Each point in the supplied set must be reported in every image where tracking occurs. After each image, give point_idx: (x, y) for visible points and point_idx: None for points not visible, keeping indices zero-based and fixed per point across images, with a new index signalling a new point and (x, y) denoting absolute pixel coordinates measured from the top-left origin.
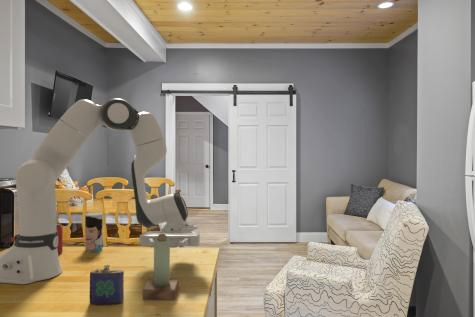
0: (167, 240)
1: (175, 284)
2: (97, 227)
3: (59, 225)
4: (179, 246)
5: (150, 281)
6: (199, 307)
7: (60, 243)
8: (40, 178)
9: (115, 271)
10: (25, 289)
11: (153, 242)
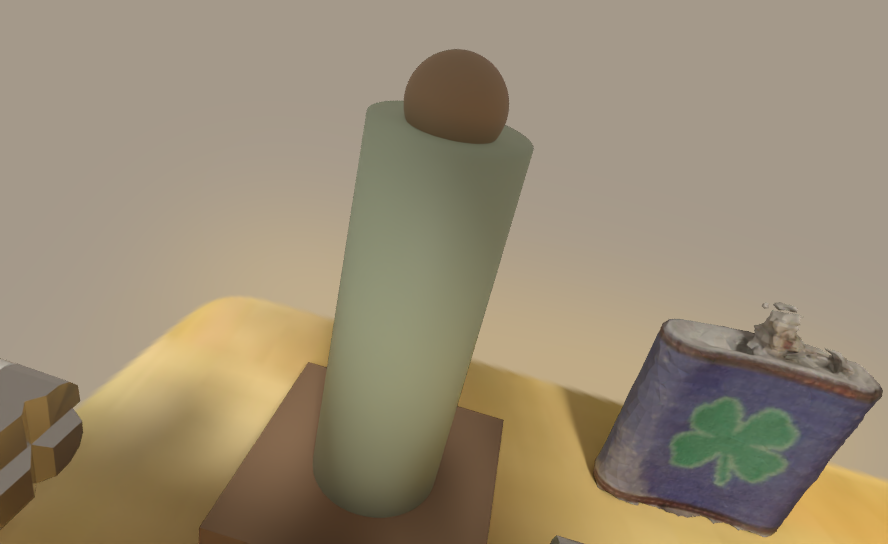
0: (394, 112)
1: (276, 420)
2: None
3: None
4: (77, 436)
5: (461, 529)
6: (206, 316)
7: None
8: None
9: (717, 347)
10: None
11: (575, 541)
